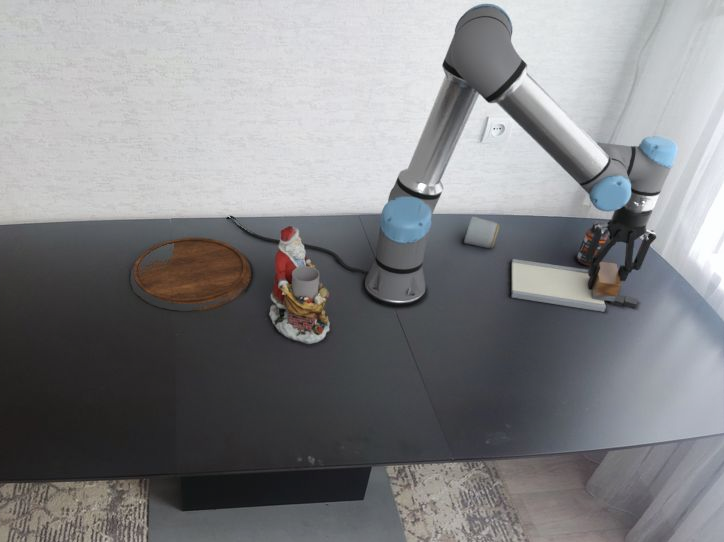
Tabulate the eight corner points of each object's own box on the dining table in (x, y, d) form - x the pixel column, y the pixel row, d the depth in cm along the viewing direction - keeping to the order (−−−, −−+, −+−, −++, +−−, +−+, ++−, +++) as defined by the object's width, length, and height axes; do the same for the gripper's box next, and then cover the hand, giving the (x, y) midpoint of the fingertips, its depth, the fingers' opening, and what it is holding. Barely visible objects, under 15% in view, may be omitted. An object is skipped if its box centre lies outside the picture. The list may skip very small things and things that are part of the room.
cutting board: (121, 254, 183) (119, 246, 181) (231, 235, 190) (231, 227, 188) (142, 322, 160) (140, 313, 158) (267, 297, 167) (267, 289, 165)
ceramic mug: (492, 253, 182) (498, 229, 177) (462, 247, 185) (467, 223, 180) (496, 236, 190) (503, 212, 185) (467, 230, 192) (473, 206, 187)
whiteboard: (511, 297, 167) (512, 292, 166) (511, 263, 179) (512, 258, 178) (604, 311, 162) (606, 307, 161) (597, 275, 174) (599, 271, 173)
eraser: (592, 298, 164) (599, 282, 161) (589, 276, 172) (595, 260, 168) (614, 301, 163) (621, 285, 160) (609, 279, 171) (616, 263, 167)
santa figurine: (335, 344, 153) (344, 252, 137) (276, 349, 152) (278, 257, 135) (321, 301, 166) (327, 213, 149) (266, 306, 164) (266, 217, 148)
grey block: (609, 303, 165) (611, 299, 164) (611, 297, 167) (613, 293, 166) (621, 306, 164) (623, 303, 163) (623, 301, 166) (625, 297, 165)
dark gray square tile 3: (622, 304, 164) (624, 301, 164) (624, 299, 166) (626, 295, 166) (634, 308, 163) (636, 304, 163) (636, 302, 165) (638, 298, 164)
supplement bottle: (575, 264, 178) (589, 227, 171) (576, 253, 183) (589, 217, 175) (599, 269, 177) (614, 232, 169) (599, 257, 181) (613, 221, 173)
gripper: (595, 208, 151) (565, 290, 166) (681, 218, 147) (642, 302, 163) (592, 193, 157) (563, 274, 172) (675, 203, 153) (638, 285, 168)
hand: (601, 287), depth 167 cm, fingers closed on eraser, 5 cm apart
